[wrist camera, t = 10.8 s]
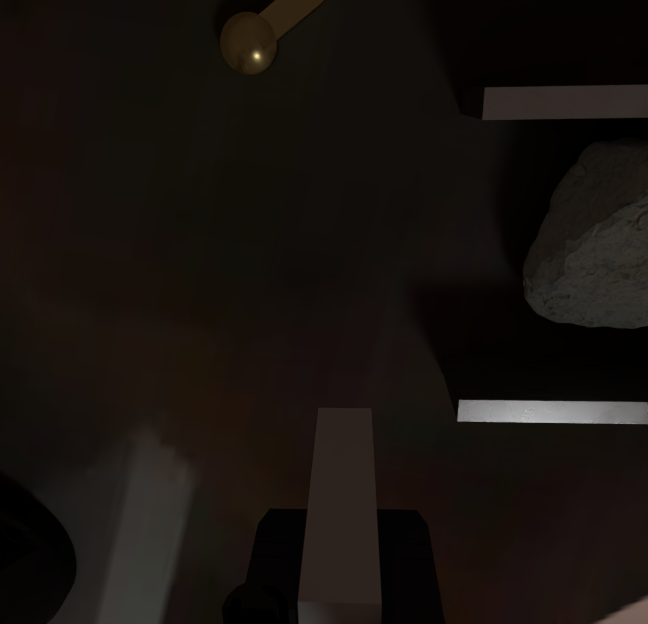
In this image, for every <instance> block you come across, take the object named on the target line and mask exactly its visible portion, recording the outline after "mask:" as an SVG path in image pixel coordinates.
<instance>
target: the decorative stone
mask: <svg viewBox="0 0 648 624" xmlns="http://www.w3.org/2000/svg"><path fill="white" fill-rule="evenodd" d="M523 278H524V281H523V284H524V297H525V299H526V300H527V302H528V303H529V305H530V306H531V308H532V309H533V310H534V311H535V312H536V313H537V314H538V315H541V316H543V317H545V318H547V319H549V320H551V321H553V322H556V323H573V324H576V325H581V326H586V327H588V328H589V327H601V326H608V327H613V328H629V329H635V328H638V327H644V326H648V140H640V139H637V138H633V137H624V138H621V139H618V140H615V141H612V142H607V141H600V142H594V143H592V144H590V145H589V146H588V147H586V148H585V149H584V150H583V151H582V153H581V154H580V156H579V159H578V161H577V163H576V164H575V165H573V166H572V167H571V168H570V169H569V170H568V172H567V173H566V174H565V176H564V177H563V178H562V180H561V181H560V183H559V184H558V186H557V187H556V189H555V191H554V192H553V194H552V197H551V199H550V207H549V211H548V213H546V217H545V219H544V220H543V222H542V224H541V227H540V229H539V232H538V236H537V238H536V240H535V241H534V242H533V244H532V245H531V246H530V249H529V253H528V255H527V257H526V260H525V262H524V266H523Z"/></svg>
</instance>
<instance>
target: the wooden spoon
mask: <svg viewBox="0 0 648 624" xmlns="http://www.w3.org/2000/svg"><path fill="white" fill-rule="evenodd" d="M327 1H328V0H275V1H274V2H273V3H272V4H270V5H269V6H268V7H267V8H266V9H264V10H263V11H262V12H261V13H260V14H256V13H253V12H241V13H238V14H236V15H234V16H232V17H231V18H230V19H229V20H228V21H227V22H226V24H225V25H224V27H223V29H222V32H221V37H220V47H221V51H222V54H223V56H224V59H225V60H226V62H227V63H228V64H229V65H230V66H231V67H232V68H233V69H234V70H236V71H238V72H240V73H243V74H251V75H253V74H260V73H262V72H264V71H266V70H267V69H269V68H270V67H271V66H272V64H273V63H274V61H275V60H276V57H277V54H278V49H279V41H280V40H281V39H282V38H283V37H285V36H286V35H287V34H288V33H289V32H291V31H292V30H293V29H294V28H295V27H297V26H298V25H299V24H300V23H301V22H303V21H304V20H305V19H306V18H307V17H309V16H310V15H311V14H312V13H314V12H315V11H316V10H317V9H318V8H320V7H321V6H322V5H323V4H324V3H326V2H327Z"/></svg>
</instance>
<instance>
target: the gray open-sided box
mask: <svg viewBox="0 0 648 624" xmlns="http://www.w3.org/2000/svg"><path fill="white" fill-rule="evenodd" d="M461 114H463V115H466V116H470V117H473V118H477V119H481V120H513V119H584V118H648V84H612V85H555V86H497V87H463V98H462V112H461ZM443 376H444V379H445V382H446V385H447V389H448V392H449V395H450V399H451V402H452V405H453V409H454V412H455V415H456V418H457V421H471V422H542V423H614V424H648V357H529V356H445V357H444V372H443Z"/></svg>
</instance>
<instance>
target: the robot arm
mask: <svg viewBox="0 0 648 624" xmlns="http://www.w3.org/2000/svg"><path fill="white" fill-rule="evenodd" d="M76 567H77V565H76V557H75V553H74V550H73V547H72V544H71V542H70V540H69V538H68V537H67V535H66V533H65V532H64V530H63V529H62V528H61V526H60V525H59V524H58V523H57V521H56V520H55V519H54V518H53V517H52V516H51V515H50V514H49V513H47V512H46V511H45V510H44V509H43V508H41V507H40V506H39V505H37V504H36V503H34V502H33V501H31V500H30V499H28V498H26V497H24V496H23V495H21V494H19V493H16V492H14V491H12V490H9V489H7V488H4V487H1V486H0V624H47V623H48V622H49V621H50V620H51V619H52V618H53V617H54V616H55V615H56V613H57V612H58V611H59V609H60V607H61V606H62V604H63V602H64V601H65V599H66V597H67V595H68V593H69V592H70V590H71V588H72V586H73V584H74V581H75V577H76ZM222 613H223V621H224V624H446V623H445V620H444V616H443V611H442V605H441V599H440V593H439V587H438V581H437V575H436V569H435V563H434V558H433V552H432V547H431V540H430V534H429V528H428V525H427V524H426V522H425V521H424V519H423V518H422V517H421V515H420V514H419V513H418V511H417V510H389V509H377V507H376V489H375V470H374V452H373V434H372V416H371V408H319V409H318V418H317V427H316V437H315V446H314V455H313V464H312V474H311V483H310V492H309V501H308V509H269V511H268V512H267V513H266V514H265V516H264V517H263V518H262V520H261V521H260V522H259V523H258V527H257V532H256V536H255V541H254V545H253V550H252V554H251V559H250V564H249V568H248V573H247V577H246V582H245V583H244V584H242V585H240V586H237V587H236V588H235V589H234V590H233V591H232V592H231V593H230V594H229V595H228V596H227V598H226V600H225V602H224V604H223V606H222Z"/></svg>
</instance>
